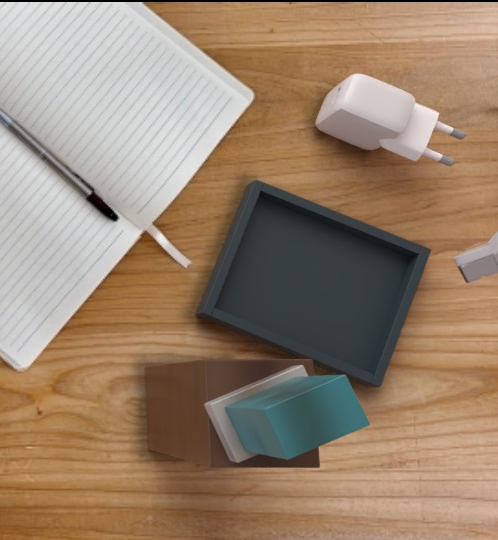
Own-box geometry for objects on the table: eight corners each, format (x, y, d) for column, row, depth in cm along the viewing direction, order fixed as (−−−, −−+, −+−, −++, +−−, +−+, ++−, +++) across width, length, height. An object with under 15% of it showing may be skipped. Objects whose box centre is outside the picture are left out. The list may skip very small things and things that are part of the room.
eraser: (294, 365, 56) (354, 360, 48) (321, 422, 56) (387, 427, 47) (203, 403, 56) (247, 406, 48) (229, 461, 56) (279, 474, 47)
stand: (226, 366, 74) (313, 358, 56) (230, 449, 73) (320, 468, 55) (144, 366, 74) (205, 359, 57) (147, 449, 73) (210, 467, 56)
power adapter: (446, 136, 76) (487, 115, 70) (426, 185, 75) (466, 168, 70) (327, 86, 77) (357, 61, 71) (306, 134, 77) (335, 112, 71)
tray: (417, 253, 75) (431, 249, 72) (367, 387, 73) (380, 387, 71) (246, 185, 76) (255, 178, 74) (194, 315, 75) (202, 312, 72)
